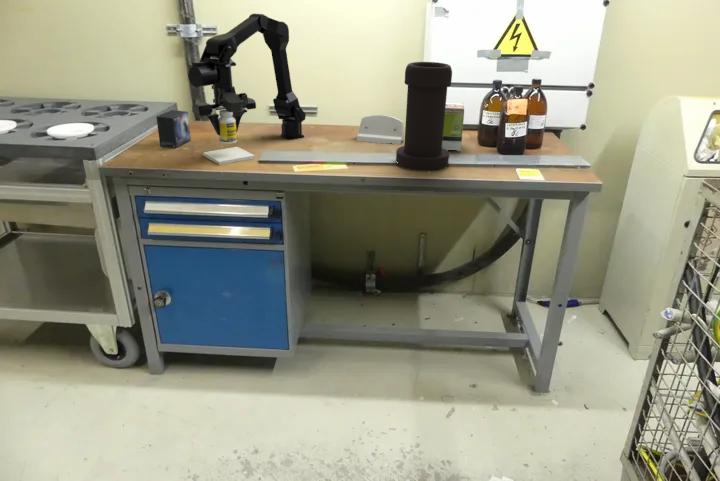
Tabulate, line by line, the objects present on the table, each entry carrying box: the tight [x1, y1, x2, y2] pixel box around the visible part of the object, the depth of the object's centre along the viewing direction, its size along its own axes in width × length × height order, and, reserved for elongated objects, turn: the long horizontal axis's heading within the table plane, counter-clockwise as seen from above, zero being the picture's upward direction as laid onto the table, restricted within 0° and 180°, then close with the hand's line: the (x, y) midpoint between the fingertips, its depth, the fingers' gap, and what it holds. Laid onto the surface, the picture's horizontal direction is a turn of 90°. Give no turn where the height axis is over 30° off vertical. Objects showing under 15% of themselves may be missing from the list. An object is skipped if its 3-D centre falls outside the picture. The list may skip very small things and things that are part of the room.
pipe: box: [395, 61, 453, 172], centre depth 163 cm, size 16×16×30 cm
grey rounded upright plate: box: [356, 114, 405, 145], centre depth 191 cm, size 17×5×10 cm, turn 76°
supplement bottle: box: [218, 109, 238, 145], centre depth 166 cm, size 5×5×10 cm
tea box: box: [442, 102, 465, 152], centre depth 183 cm, size 15×10×15 cm
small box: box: [155, 109, 192, 149], centre depth 181 cm, size 11×6×10 cm, turn 168°
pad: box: [202, 146, 256, 166], centre depth 170 cm, size 12×12×1 cm
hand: (227, 133), depth 167 cm, fingers closed on supplement bottle, 5 cm apart
